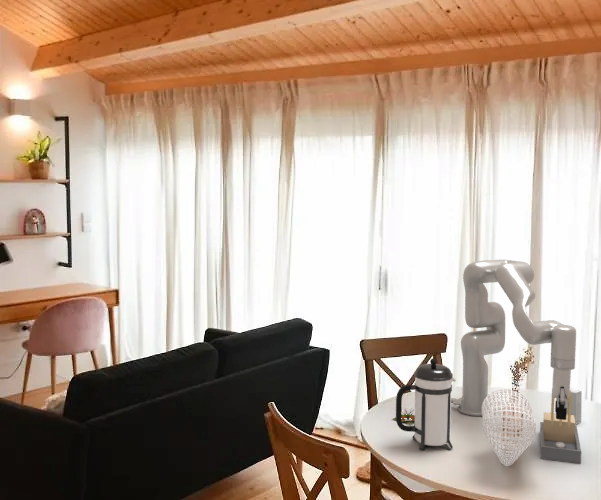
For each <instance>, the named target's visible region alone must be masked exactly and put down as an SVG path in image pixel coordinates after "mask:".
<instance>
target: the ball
mask: <svg viewBox="0 0 601 500" xmlns="http://www.w3.org/2000/svg"><path fill="white" fill-rule="evenodd" d="M555 447H557V448H566V446H565V444H564V443H563V442H557V443H556V444H555Z"/></svg>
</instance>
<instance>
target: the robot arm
mask: <svg viewBox="0 0 601 500" xmlns="http://www.w3.org/2000/svg"><path fill="white" fill-rule="evenodd" d="M534 278H535V272H534V269H533V267H532V266H531V265H530V263H528V262H525V261H519V260H518V261H517V260H509V259H488V260H487V259H486V260H478V261H473V262H471V263H468V264H467V265H466V267H465V268H464V270H463V274H462V279H463V280H462V281H463V285H464V293H465V295H464V309H465V310H464V319H465V324H466V325H467V326H468V327H469V328H472V329H481V328H486V329H484V330H483V329H482V330H475V331H474V330H473V331H470V332H466V333H465V334H464V335H463V336H462V337H461V340H460V349H461V354H462V392H461V393H462V395H461V397H459V398H454V397H451V404H453V405H455V406H457V411H458V412H460V413H461V414H464V415H465V416H466V415H467V416H472V417H483V416H482V404H483V401H484V399H485V398H486V397H487V396H488V395H489V394H488V393H489V391H488V390H489V387H488V386H489V385H488V384H489V366H488V362H487V361H486V359H485V358H484V357H485V356H489V355H495V354H498V353H502V351H503V350H504V348H505V344H506V313H505V310H504V307H503V306H502V305H501V304H500V303H498V302H496V301H489V292H488V289H487V288H486V286H485V284H488V283H489V284H490V283H491V284H492V283H498V284H499V286H500V288H502V290H503V292H504V293H505V295H506V296H507V298H508V299H509V301H510V302H511V304H512V312H511V315H512V322H513V326H514V327H515V329H516V331H517V332H518V334H519V335H520V337H521V338H522V339H523V340H524V341H525V342H526V343H527V344H529V345H532V346H533V345H535V346H537V345H543V344H550V367H551V368H552V369H553V371H552V388H551V392H552V391H553V398H554V399H556V400H555V403H554V413H556V419H561V420H566V415H567V408H566V399H569V391H570V388H571V373H572V370H575V369H576V350H577V348H576V347H577V330H576V328H575V327H574V326H573V325H569V324H568V325H567V324H564V323H562V322H559V321H556V320H554V319H553V320H552V319H551V320H550V319H549V320H541V321H533V320H532V318H531V317H530V316H529V314H528V312H527V309H526V308H527V307H528V306H529V305H531V304H532V303H533V301H534V300H535V298H536V293H535V291H534V289H533V288H532V287H531V286H530V284H531V283H532V282H533V281H534ZM566 396H567V397H566ZM485 402H486V401H485ZM485 405H486V404H485ZM488 408H489V407H488ZM485 410H486V409H485ZM489 413H490V412H489Z"/></svg>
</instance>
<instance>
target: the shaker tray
mask: <svg viewBox="0 0 601 500" xmlns="http://www.w3.org/2000/svg"><path fill="white" fill-rule="evenodd" d="M542 419H543V420H542V421H541V422H540V423H539V424H540V425H539V426H540V427H539V439H540V440H539V442H540V443H539V445H540V446H539V447H540V448H539V450H540V451H539V452H540V459H542V460H548V461H549V460H550V461H557V462H564V463H572V464H579V465H580V464H581V463H582V462H581V461H582V459H581V458H582V449H581V444H580V442H581V441H580V438H579V432H578V428H577V427H578V426H577V425H576V424H575V418H574V415H571V420H570V427H568V421H567V419H568V415H566V420H562V426H560V420H559V419H556V412H554V419H553V425H551V412H545V411H543V418H542ZM557 442H563V443H564V444H565V446H566V448H557V447H555V444H556V443H557Z"/></svg>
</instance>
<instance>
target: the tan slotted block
mask: <svg viewBox="0 0 601 500" xmlns="http://www.w3.org/2000/svg"><path fill="white" fill-rule="evenodd" d="M566 397H567V396H566ZM550 408H551V409H550V413H551V425H553V419H554V413H555V398H553V391H552V390H551V407H550ZM559 420H560V426H562V420H561V419H559ZM570 420H571V390H570V391H569V399H568V419H567V421H568V427H570Z"/></svg>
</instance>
